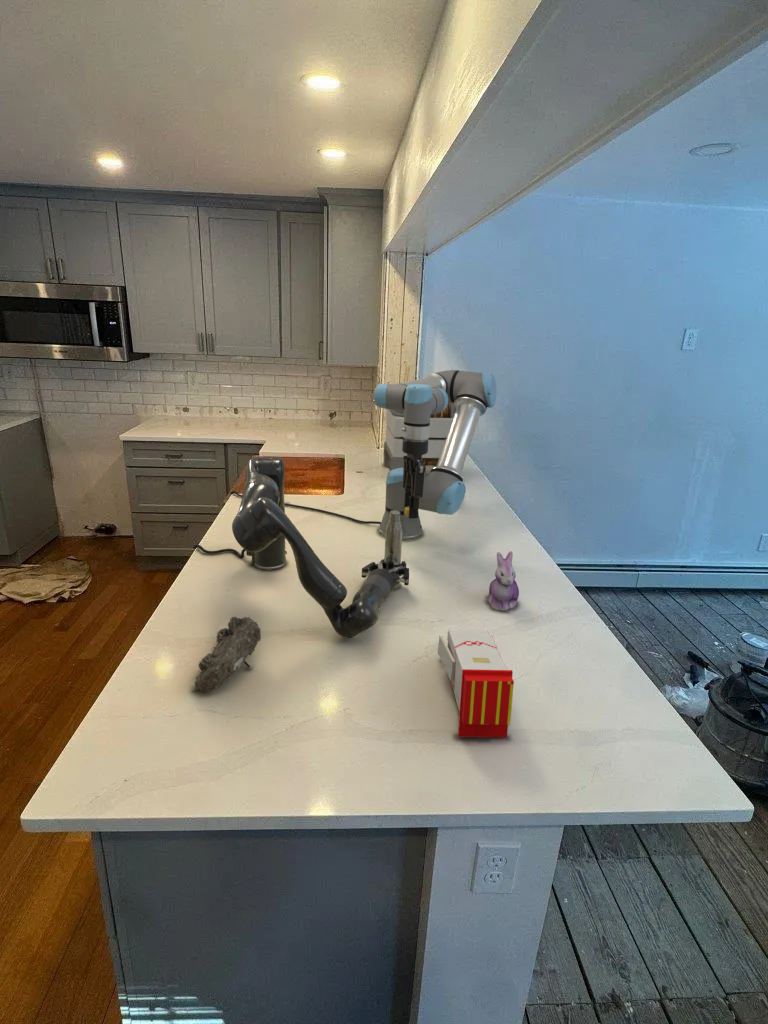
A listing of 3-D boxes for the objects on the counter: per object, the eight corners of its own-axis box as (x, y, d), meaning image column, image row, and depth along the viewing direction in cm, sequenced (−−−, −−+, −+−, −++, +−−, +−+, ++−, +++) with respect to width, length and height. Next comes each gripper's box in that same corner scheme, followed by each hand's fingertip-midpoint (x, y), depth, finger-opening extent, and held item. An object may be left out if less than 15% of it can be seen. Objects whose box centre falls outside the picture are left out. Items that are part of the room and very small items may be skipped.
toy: (488, 613, 130) (523, 677, 101) (484, 667, 133) (517, 744, 104) (435, 612, 130) (455, 676, 101) (432, 666, 133) (451, 743, 103)
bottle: (399, 589, 160) (403, 515, 153) (382, 588, 160) (386, 514, 153) (399, 582, 165) (403, 509, 157) (383, 581, 165) (386, 508, 157)
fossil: (214, 619, 133) (260, 589, 128) (241, 647, 136) (288, 619, 131) (174, 686, 113) (226, 654, 108) (207, 716, 116) (260, 687, 111)
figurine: (500, 615, 149) (507, 563, 144) (477, 598, 157) (483, 548, 152) (528, 608, 153) (536, 557, 148) (504, 591, 161) (510, 543, 156)
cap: (417, 512, 174) (417, 506, 173) (417, 517, 170) (418, 511, 169) (403, 512, 174) (404, 506, 173) (404, 516, 170) (404, 510, 169)
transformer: (382, 463, 289) (386, 382, 275) (445, 464, 293) (451, 384, 279) (390, 482, 257) (394, 392, 243) (460, 483, 261) (468, 394, 247)
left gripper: (404, 580, 144) (419, 554, 160) (351, 570, 148) (371, 546, 164) (402, 606, 147) (418, 578, 162) (350, 596, 151) (370, 570, 166)
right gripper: (394, 433, 171) (390, 506, 178) (412, 446, 155) (407, 525, 163) (418, 433, 173) (413, 505, 180) (438, 445, 157) (432, 524, 165)
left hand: (394, 562), depth 163 cm, fingers closed on bottle, 4 cm apart
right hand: (410, 515), depth 172 cm, fingers closed on cap, 4 cm apart
